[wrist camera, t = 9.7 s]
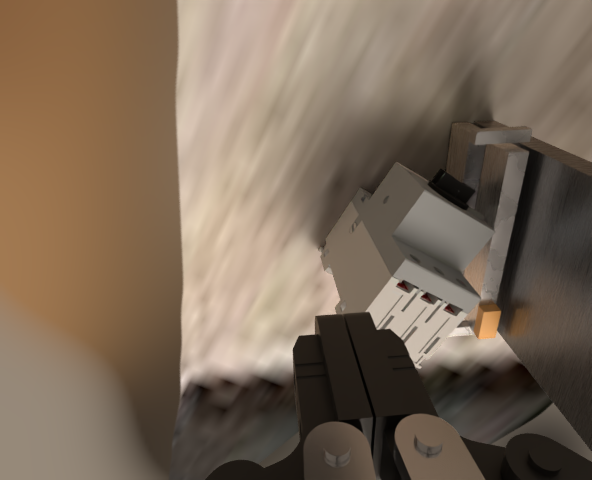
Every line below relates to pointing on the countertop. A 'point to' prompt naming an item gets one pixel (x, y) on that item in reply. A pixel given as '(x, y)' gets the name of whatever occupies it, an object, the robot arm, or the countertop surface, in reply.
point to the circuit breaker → (408, 257)
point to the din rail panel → (549, 273)
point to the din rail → (488, 214)
